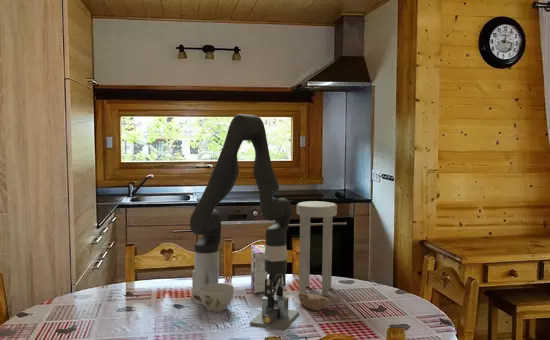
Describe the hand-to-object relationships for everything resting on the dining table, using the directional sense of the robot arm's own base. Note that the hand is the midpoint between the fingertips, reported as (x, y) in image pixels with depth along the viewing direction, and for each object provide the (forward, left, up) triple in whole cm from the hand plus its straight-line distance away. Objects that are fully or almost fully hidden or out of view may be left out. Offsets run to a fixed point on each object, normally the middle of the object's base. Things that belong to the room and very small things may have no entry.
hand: (275, 304), depth 183 cm
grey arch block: (0, 0, -4) cm, 4 cm away
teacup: (-24, +1, -6) cm, 25 cm away
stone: (+9, +17, -6) cm, 20 cm away
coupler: (0, 0, -5) cm, 5 cm away
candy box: (-18, +30, -6) cm, 35 cm away
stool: (+4, +36, -6) cm, 37 cm away
